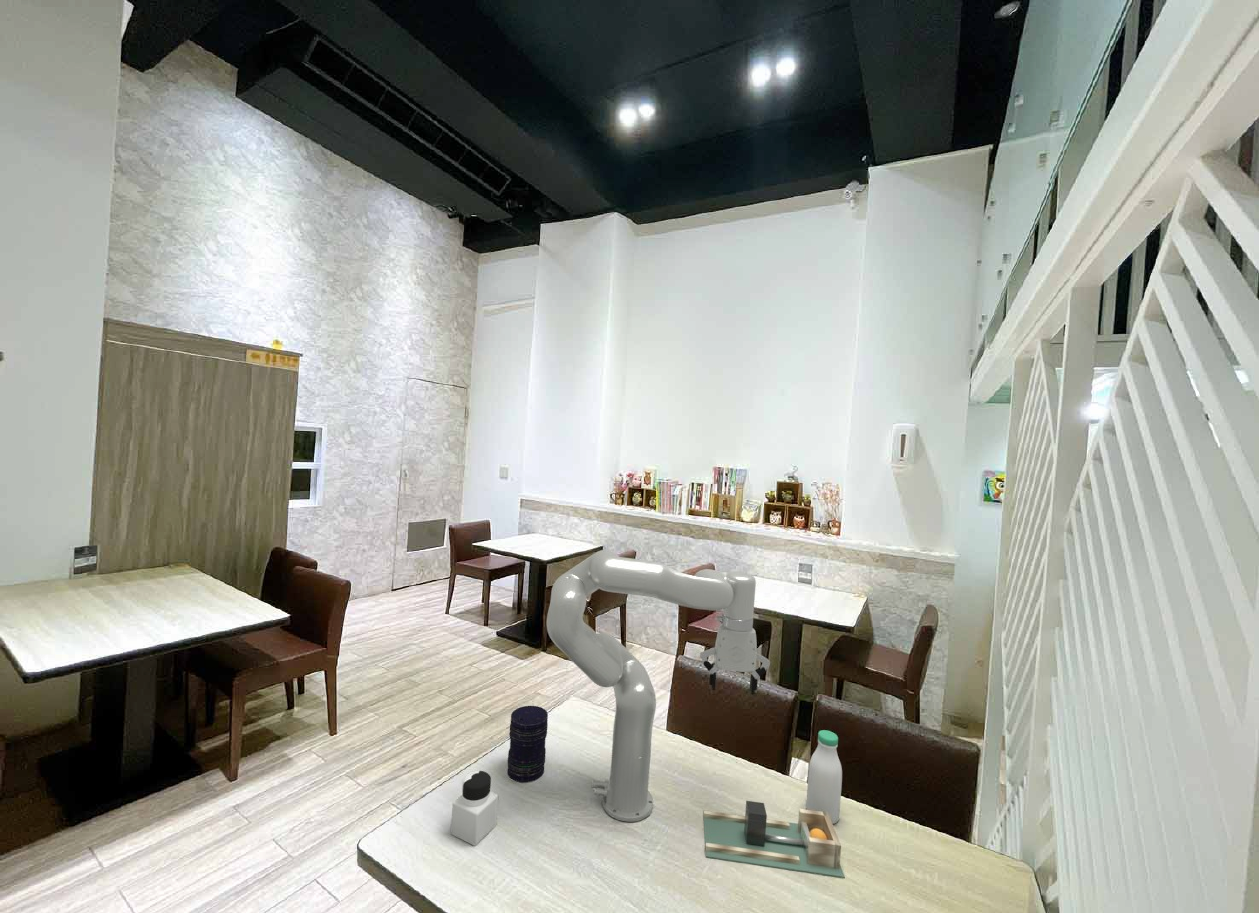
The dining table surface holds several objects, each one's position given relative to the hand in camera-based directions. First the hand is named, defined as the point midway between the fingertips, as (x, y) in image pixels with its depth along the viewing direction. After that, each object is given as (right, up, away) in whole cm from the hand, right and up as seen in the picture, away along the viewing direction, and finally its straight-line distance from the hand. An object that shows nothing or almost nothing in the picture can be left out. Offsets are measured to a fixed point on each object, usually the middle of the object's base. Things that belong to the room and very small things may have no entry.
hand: (732, 689), depth 127 cm
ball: (+17, -27, -13) cm, 35 cm away
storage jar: (-53, -25, +7) cm, 59 cm away
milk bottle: (+22, -30, -2) cm, 37 cm away
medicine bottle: (-61, -25, -14) cm, 67 cm away
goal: (+16, -29, -13) cm, 36 cm away
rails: (+1, -28, -12) cm, 31 cm away
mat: (+6, -29, -12) cm, 32 cm away
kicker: (+7, -29, -13) cm, 32 cm away
